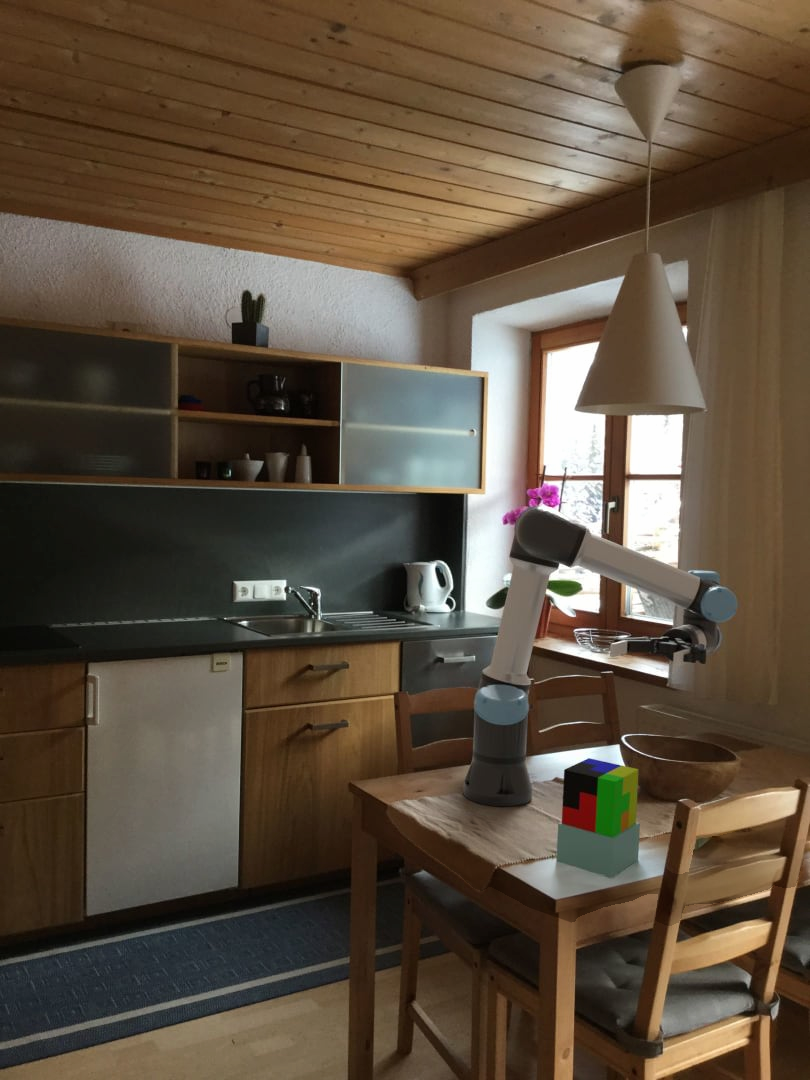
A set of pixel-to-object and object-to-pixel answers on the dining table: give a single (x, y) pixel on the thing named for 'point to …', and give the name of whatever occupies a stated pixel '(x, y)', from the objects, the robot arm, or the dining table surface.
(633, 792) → the puzzle toy
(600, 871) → the base brick
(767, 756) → the dining table surface
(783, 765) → the dining table surface
